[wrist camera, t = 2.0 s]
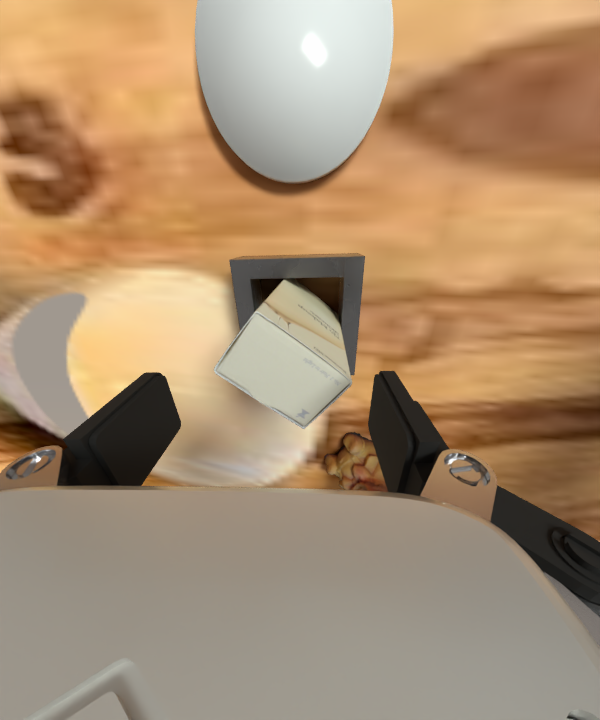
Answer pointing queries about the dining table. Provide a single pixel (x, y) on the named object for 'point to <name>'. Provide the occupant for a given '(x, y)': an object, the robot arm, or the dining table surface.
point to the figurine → (356, 465)
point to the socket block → (303, 266)
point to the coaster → (293, 79)
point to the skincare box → (290, 355)
